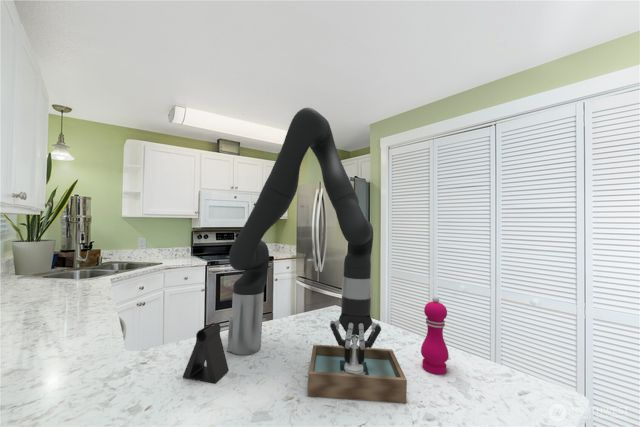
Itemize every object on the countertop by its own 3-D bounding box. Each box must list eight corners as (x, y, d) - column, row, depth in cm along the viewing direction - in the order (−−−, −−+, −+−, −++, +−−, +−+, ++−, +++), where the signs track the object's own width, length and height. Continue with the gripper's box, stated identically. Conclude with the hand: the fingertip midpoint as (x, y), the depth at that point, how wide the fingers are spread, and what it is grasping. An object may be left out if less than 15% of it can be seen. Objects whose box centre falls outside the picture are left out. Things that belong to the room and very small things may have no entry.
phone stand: (182, 378, 70) (185, 328, 70) (197, 366, 75) (200, 320, 76) (215, 384, 68) (218, 332, 68) (228, 371, 74) (231, 324, 74)
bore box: (307, 396, 64) (308, 373, 65) (312, 362, 80) (313, 344, 81) (406, 403, 63) (406, 380, 64) (391, 367, 79) (392, 349, 79)
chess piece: (362, 375, 70) (364, 333, 71) (343, 372, 71) (344, 331, 72) (363, 365, 75) (365, 327, 76) (345, 363, 76) (346, 325, 77)
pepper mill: (447, 365, 82) (448, 295, 83) (449, 378, 75) (451, 301, 76) (420, 360, 84) (422, 292, 85) (420, 372, 77) (422, 297, 78)
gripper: (329, 296, 71) (326, 368, 70) (385, 299, 70) (383, 371, 69) (329, 290, 78) (327, 354, 77) (380, 292, 78) (378, 357, 77)
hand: (354, 362), depth 73 cm, fingers closed on chess piece, 2 cm apart
